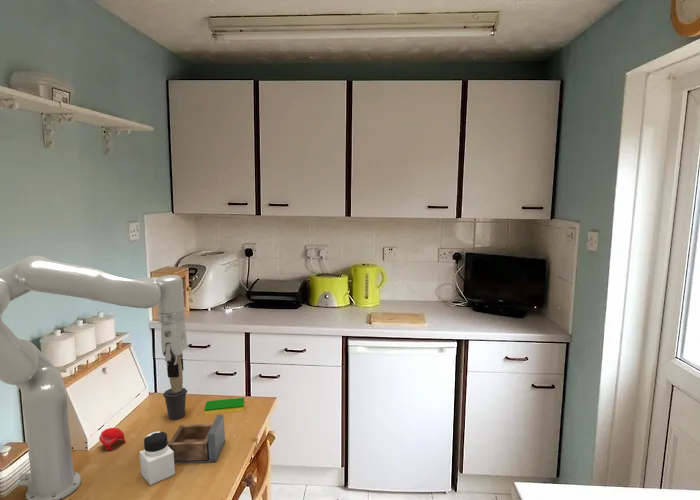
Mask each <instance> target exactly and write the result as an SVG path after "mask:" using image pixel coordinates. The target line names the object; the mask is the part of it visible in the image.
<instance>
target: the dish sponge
mask: <svg viewBox="0 0 700 500" xmlns="http://www.w3.org/2000/svg"><path fill="white" fill-rule="evenodd" d="M203 411H204V415H205V416H207V414H208V415H215V414H214V413H218V414H225V413H226V412H228V413H235V411H238V412H244V411H245V397H238V398H228V399H227V398H226V399H215V400H207V401H206V402H205V406H204V410H203Z"/></svg>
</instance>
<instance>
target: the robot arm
mask: <svg viewBox="0 0 700 500" xmlns="http://www.w3.org/2000/svg"><path fill="white" fill-rule="evenodd" d="M31 291H32V292H38V293H45V294H52V295H60V296H67V297H73V298H80V299H84V300H85V299H87V300H89V301H95V302H100V303H105V304H109V305H110V304H111V305H115V306H122V307H128V308H136V309H151V308H153V307H155V306H156V305H157V315H158V324H160V327H161V328H160V329H161V330H160V331H161V333H160V334H161V336H160V337H161V343H160V344H161V354H162V355H163V356H164V361H165V362H166V368H167V369H166V371H167V373H166V374H167V377H168V378H169V379H170V378H171V377H178V376H179V367H178V364H177V356H179V355H180V356H181V364H182V372H184V358H183V352H184V351H185V349H186V348H187V347H188V337H187V329H186V323H185V321H186V312H185V310H186V309H185V297H184V296H185V295H184V283H183V279H182V277H181V276H179V275H177V274H176V275H175V274H174V275H173V274H169V275H162V276H159V277H136V278H134V279H131V278H126V277H125V278H124V277H121V276H116V275H113V274H110V273H107V272H105V271H103V270H100V269H99V268H98V269H97V268H94V267H93V266H92V267H91V266H85V265H78V264H72V263H66V262H62V261H56V260H51V259H49V258H47V257H45V256H42V255H29V256H27V257H24V258H23V259H21V260H19V261H17V262H15V263H13V264H11V265H8V266H6V267H4V268H2V269H0V381H1V382H3V383H5V384H7V385H11V386H16V387H17V388H18V389H19V390H20V391H21V396H22V397H21V398H22V399H21V401H22V402H21V403H22V412H23V419H24V424H25V425H24V426H25V435H26V442H27V443H26V444H27V449H28V450H27V451H28V459H29V469H30V470H29V471H30V473H21V474H20V476H19V481H18V484H17V485H18V487H24V486H25V487H26V486H27V490H26V492H25V498H26V500H61V499H64V498H65V497H67V496H69V495H70V494H72V493H73V492H75V491H76V490H77V489H78V488H79V487H80V486H81V483H82V477H81V474H80V473H78V471H77V472H76V471H74V460H73V452H72V451H73V450H72V443H71V431H70V422H69V408H68V405H69V404H68V395H67V394H68V393H67V388H66V385H65V382H64V379H63V376H62V374H61V372H60V371H59V370H58V369H57V368H56V366H55V365H54V364H53V363H52V362H51V361H50V360H49V359H48V358H47V357H46V356H45V354H44V353H43V352H42V351H41V350H40V349H39V348H38V347H37V346H36V345H35V344H34V343H33V342H31V341H30V340H27V339H22V338H18V336H17V335H15V334H14V332H13V331H12V329H10V328H9V327H8V326H7V325H6V324H5V322H3V319H2V318H3V317H2V316H3V313H4V312H5V310H7V308H8V306H9V305H10V302H12V301H14V300H16V299H17V298H19V297H22V296H23V295H25V294H28V293H30V292H31ZM171 353H173V354H171ZM171 357H174V359H173V358H171Z"/></svg>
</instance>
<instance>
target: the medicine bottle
mask: <svg viewBox="0 0 700 500" xmlns="http://www.w3.org/2000/svg"><path fill="white" fill-rule="evenodd" d="M167 441H168V434H167V433H166V432H165V431H159V430H158V431H153V432H151V433H149V434H147V435H146V436H145V437H144V439H143V445H144V447H143V448H144V449H142V450H140V451H139V465H140V474H141V476H142V477H143V478H144V479H145V481H146V482H147V483H148V485H150V486H152V485H155V484H156V483H159V482H161V481H164V480H165V479H168V478H170V477H172V476H175V474H176V464H175V463H174V452H173V450H171V449H170V448H169V447H168V442H167Z"/></svg>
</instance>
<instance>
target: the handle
mask: <svg viewBox="0 0 700 500" xmlns="http://www.w3.org/2000/svg"><path fill="white" fill-rule="evenodd" d="M171 354H173V353H171ZM171 358H173V359H174V357H171ZM177 364H178V367H179V376H178V377H171V378H169V384H170V389H171V390H172V392H180V391H181V390H182V388H184V386H183V384H184V380H183V379H184V376H183V372H184V371H182V364H181V356H180V355H179V356H177Z"/></svg>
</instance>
